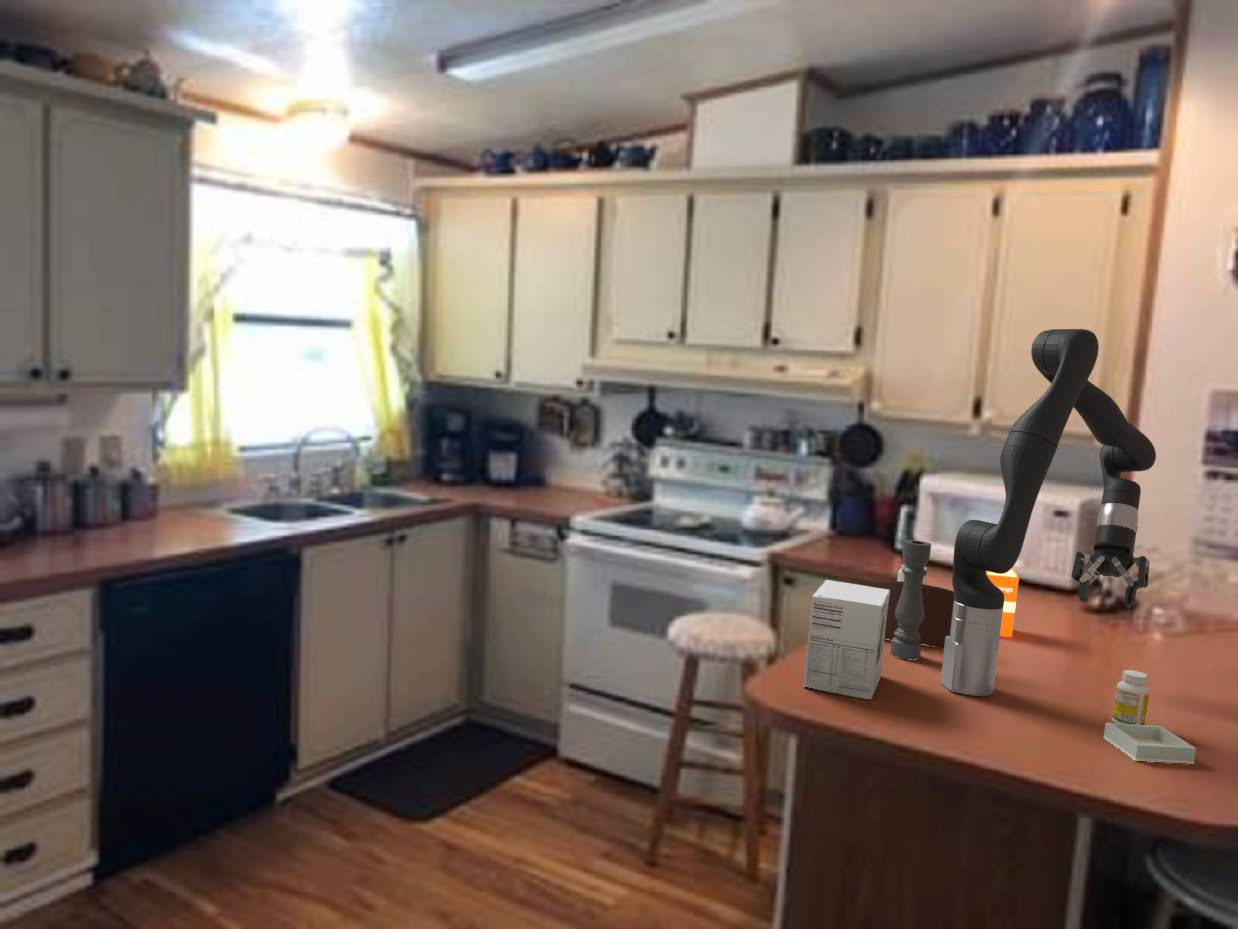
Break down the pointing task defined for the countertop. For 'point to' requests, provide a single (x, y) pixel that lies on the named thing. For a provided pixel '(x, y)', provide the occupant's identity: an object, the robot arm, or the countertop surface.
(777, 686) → the countertop surface
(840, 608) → the supplement box
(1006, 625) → the orange juice
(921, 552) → the candle holder
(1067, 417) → the robot arm
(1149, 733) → the square tray
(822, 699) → the countertop surface
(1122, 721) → the supplement bottle
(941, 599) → the letter holder
